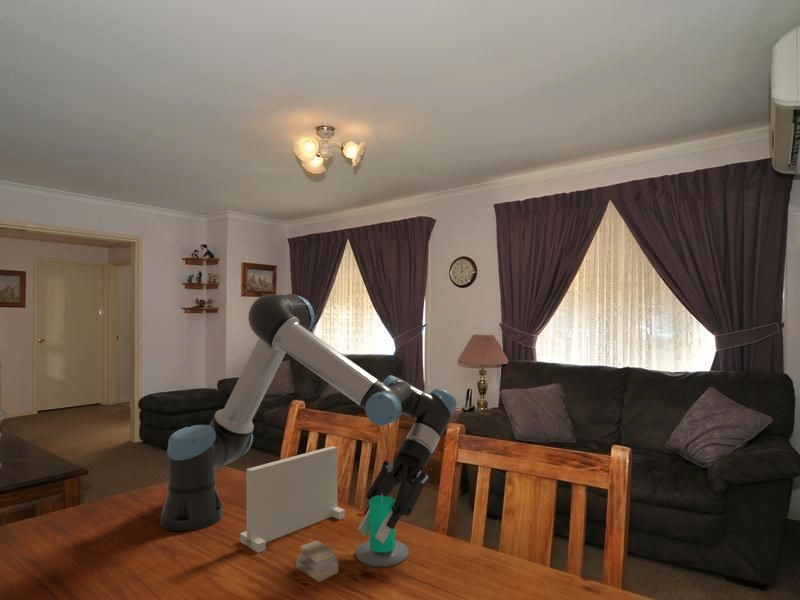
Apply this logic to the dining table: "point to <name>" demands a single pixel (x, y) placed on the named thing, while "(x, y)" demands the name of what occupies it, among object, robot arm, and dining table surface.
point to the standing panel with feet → (290, 496)
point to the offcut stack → (317, 561)
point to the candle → (380, 522)
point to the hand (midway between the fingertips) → (370, 536)
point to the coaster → (381, 555)
